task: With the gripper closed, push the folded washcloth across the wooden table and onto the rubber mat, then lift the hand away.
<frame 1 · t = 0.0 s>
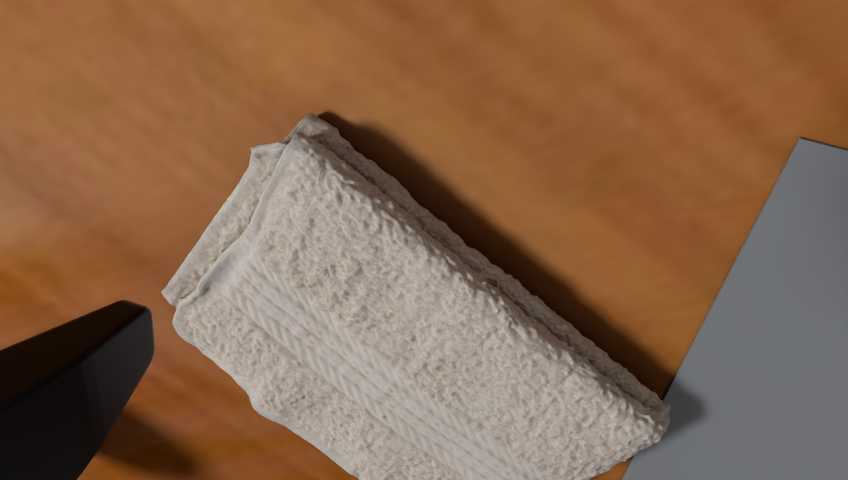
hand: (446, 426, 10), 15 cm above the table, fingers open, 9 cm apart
washcloth: (412, 331, 29), on the table, touching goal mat
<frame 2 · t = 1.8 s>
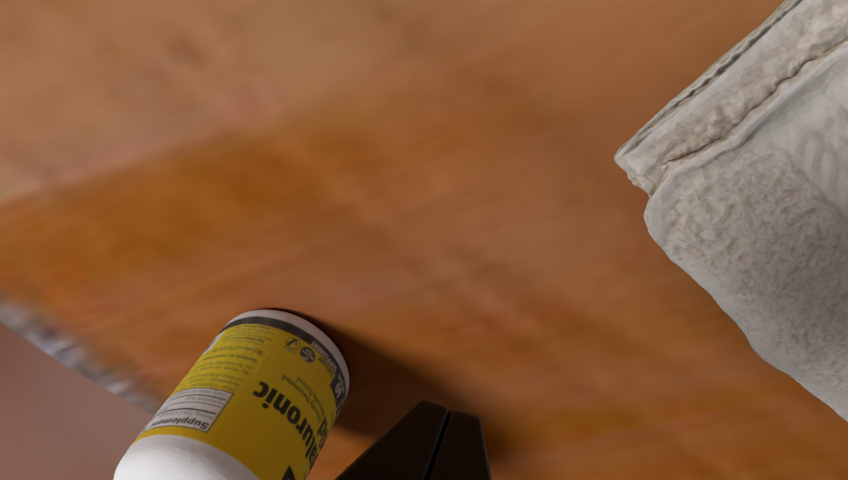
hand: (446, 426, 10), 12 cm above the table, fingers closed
supplement bottle: (290, 356, 28), on the table
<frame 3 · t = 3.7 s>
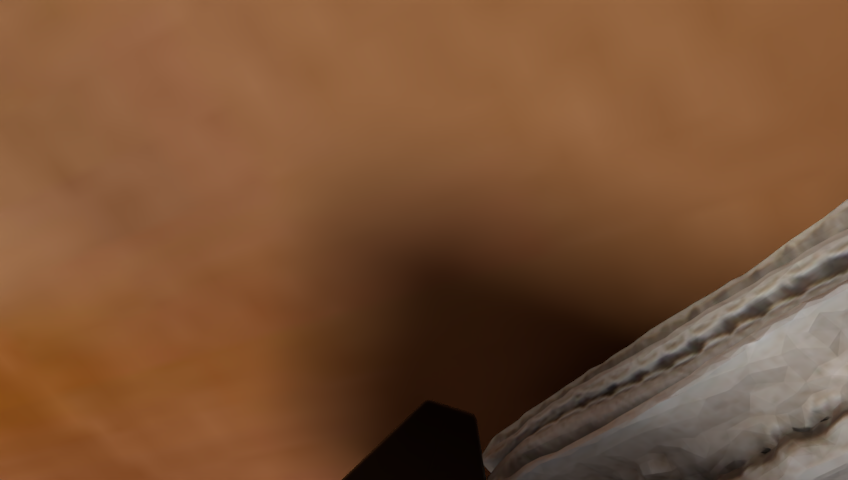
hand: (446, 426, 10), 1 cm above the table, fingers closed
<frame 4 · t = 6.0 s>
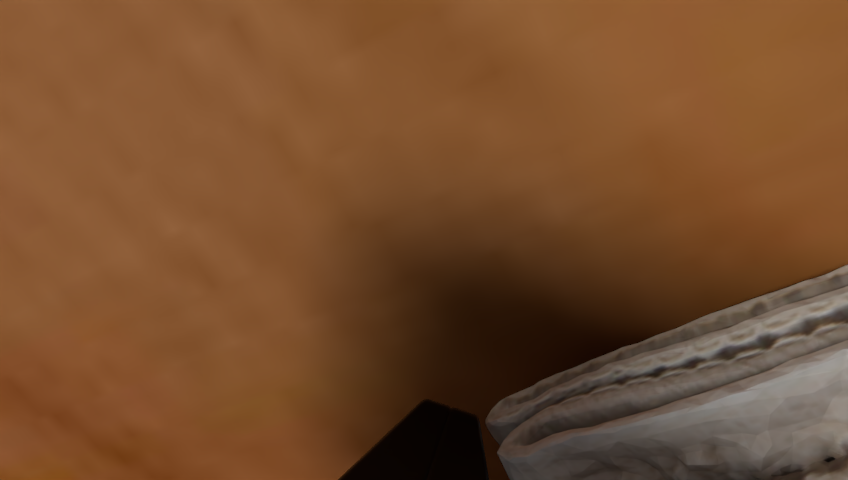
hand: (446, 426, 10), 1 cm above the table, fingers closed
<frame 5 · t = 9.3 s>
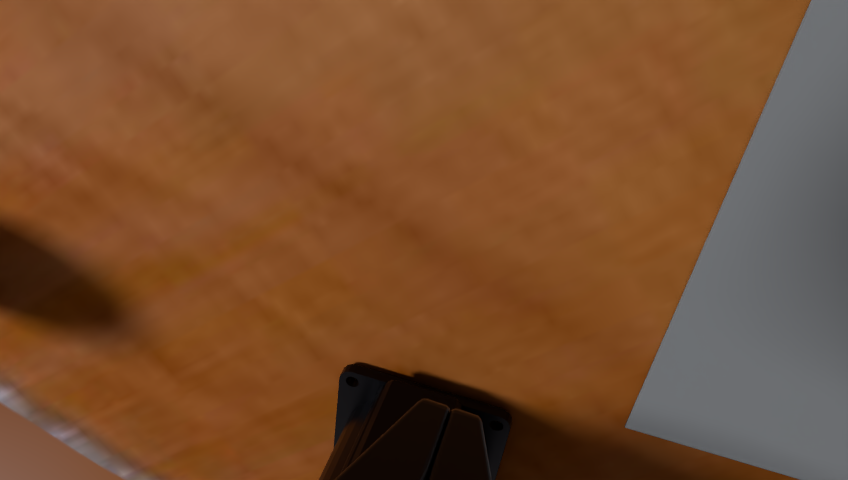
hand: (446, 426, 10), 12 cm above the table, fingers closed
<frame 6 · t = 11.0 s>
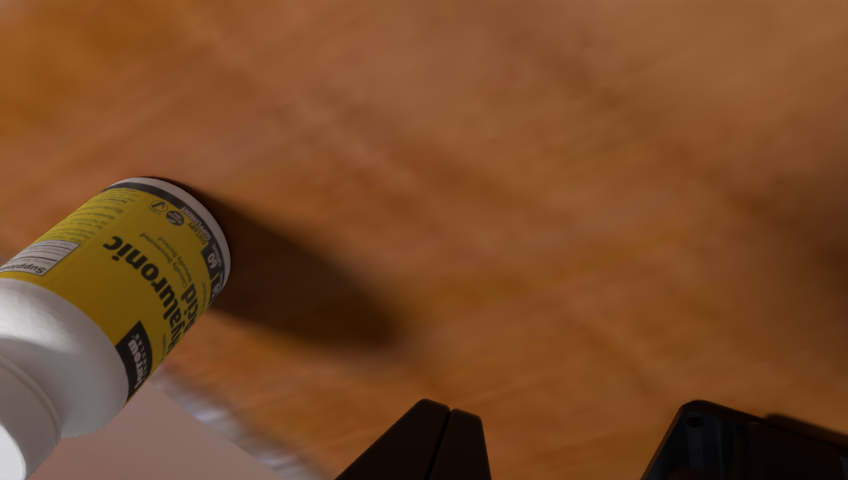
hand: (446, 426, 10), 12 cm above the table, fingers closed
supplement bottle: (171, 234, 26), on the table
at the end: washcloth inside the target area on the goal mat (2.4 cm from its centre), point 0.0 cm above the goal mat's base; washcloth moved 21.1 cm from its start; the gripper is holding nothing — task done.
